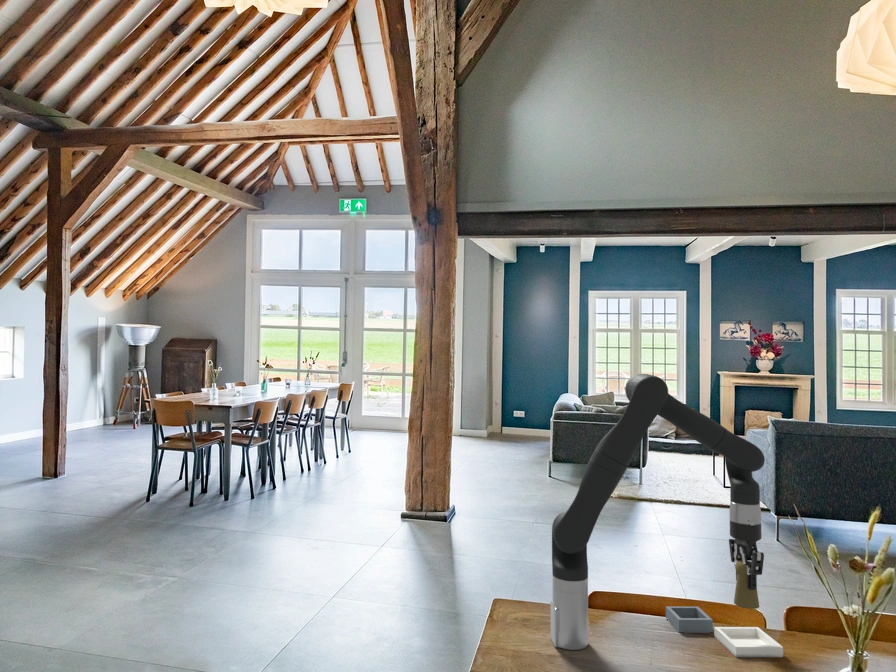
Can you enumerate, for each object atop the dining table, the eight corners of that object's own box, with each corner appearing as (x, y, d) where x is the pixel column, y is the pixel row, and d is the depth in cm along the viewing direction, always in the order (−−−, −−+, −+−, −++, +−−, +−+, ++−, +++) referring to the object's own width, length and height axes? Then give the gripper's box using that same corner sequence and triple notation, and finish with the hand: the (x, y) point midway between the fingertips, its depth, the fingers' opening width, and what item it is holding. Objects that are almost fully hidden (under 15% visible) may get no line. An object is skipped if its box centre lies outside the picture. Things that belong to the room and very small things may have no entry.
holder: (678, 632, 168) (678, 619, 168) (665, 618, 177) (665, 606, 177) (712, 632, 168) (712, 619, 168) (698, 618, 177) (697, 606, 178)
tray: (736, 657, 154) (735, 646, 154) (714, 636, 166) (714, 626, 166) (783, 657, 154) (783, 647, 154) (758, 636, 166) (757, 627, 166)
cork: (762, 609, 157) (761, 566, 157) (737, 607, 158) (736, 564, 159) (755, 601, 163) (755, 559, 163) (731, 599, 164) (730, 557, 165)
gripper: (718, 513, 169) (719, 576, 168) (745, 526, 154) (745, 595, 153) (745, 513, 169) (746, 576, 168) (774, 526, 155) (775, 595, 154)
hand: (746, 585), depth 161 cm, fingers closed on cork, 5 cm apart
